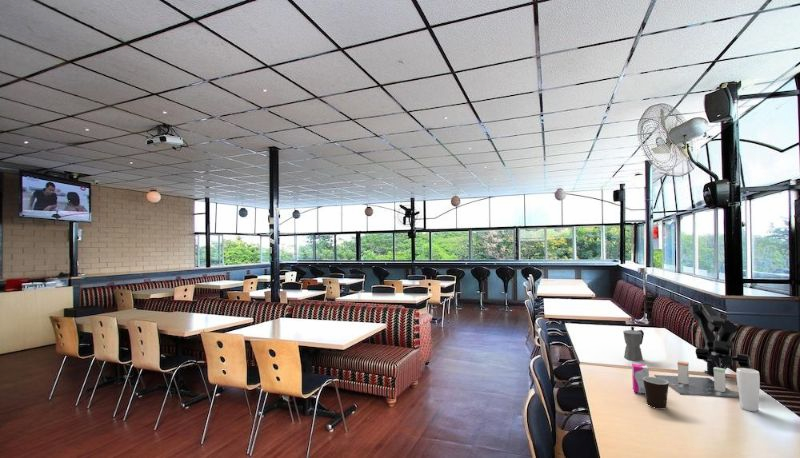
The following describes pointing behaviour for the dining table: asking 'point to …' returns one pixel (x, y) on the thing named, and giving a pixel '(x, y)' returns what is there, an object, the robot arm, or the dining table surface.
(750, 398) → the white rounded cylinder
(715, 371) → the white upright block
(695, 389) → the switch panel
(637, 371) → the supplement box
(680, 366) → the terracotta slider
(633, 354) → the coffeepot
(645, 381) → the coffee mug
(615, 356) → the dining table surface
